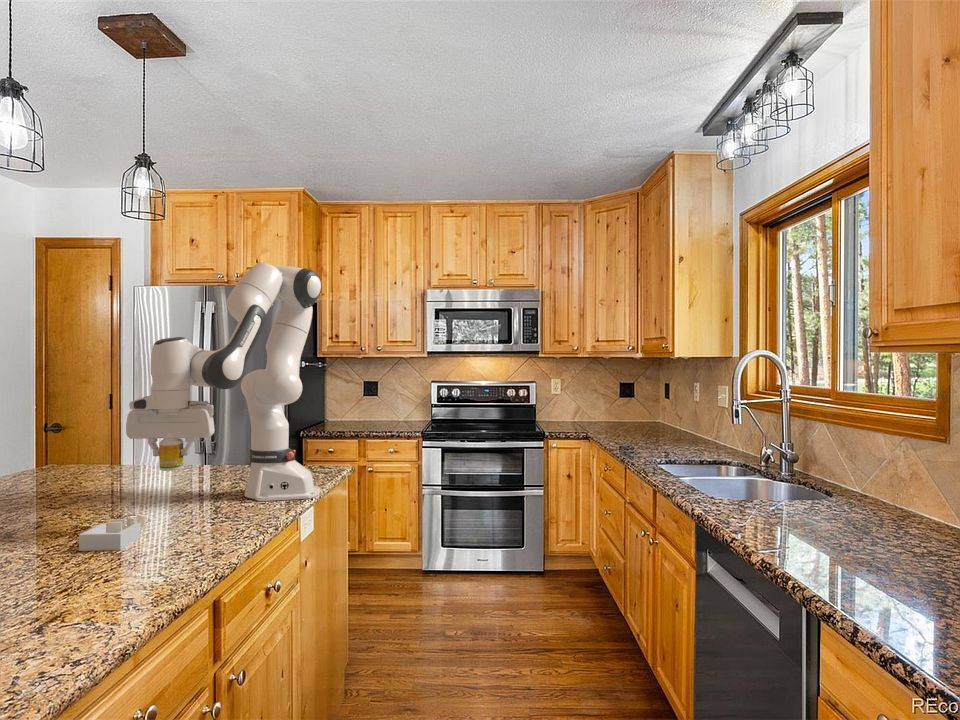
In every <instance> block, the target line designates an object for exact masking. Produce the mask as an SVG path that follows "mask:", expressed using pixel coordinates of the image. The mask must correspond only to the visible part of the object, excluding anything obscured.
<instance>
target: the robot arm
mask: <svg viewBox="0 0 960 720" xmlns="http://www.w3.org/2000/svg"><path fill="white" fill-rule="evenodd" d="M322 290H323V283H322V279H321V276H320V275H319V274H318V272H316V271H314V270H312V269H309V268H306V267H305V268H302V267H297V266H293V265H292V266H291V265H273V264H271V263H268V262H259V263H257V264H255V265H253V266H252V267H251V268H250V269H249V270H247V271H246V273H244V275H242V277H241V278H240V279H239V281H237V283H236V285H235V286H234V287H233V288H232V290H231V291H230V293H229V294H228V297H227V300H226V308H227V310H228V313H229V314H230V316H231V317H233V319H235V321H237V325H236V327H235V329H234V331H233V332H232V334H231V336H230V338H229V340H228V342H227V344H225V345H224V346H223V347H222V348H220V349H217V350H205V349H204V348H201V347H199V346H196V345H194V344H193V343H192V342H190V341H189V340H188V338H186V337H182V336H176V337H175V336H174V337H166V338H162V339H158V340H157V341H156V342H154V343H153V345H152V348H151V354H150V375H151V379H152V384H151V386H150V394H149V395H146V396H143V397H140V398H137V399H135V400H131V401H130V402H129V403H128V404H129V405H128V406H129V409H130V410H131V411H129V412H128V414H127V417H126V423H125V425H126V426H125V428H126V429H125V434H126V436H127V438H129V440H130V439H131V440H132V439H133V440H134V439H137V440H139V439H140V440H141V439H143V440H145V439H147V444H148V445H149V447H150V448H151V450H152V457H159V445H158V444H157V442H158V441H159V440H158V439H163V438H164V433H169V432H172V436H173V438H180V439H185V440H184V441H185V443H186V445H185V446H184V447H183V449H181V452H182V453H181V456H183V457H185V456H187V457H188V456H190V452H191V447H192V446H193V444H194V443H195V438H196V439H197V438H202V439H203V438H205V439H206V438H209V437H212V436H213V435H214V434H215V422H214V421H215V420H214V414H215V408H214V405H213V404H212V403H211V402H209V401H208V400H200V401H198V400H191V387H192V386H194V387H203V388H204V387H205V388H215V389H218V390H219V389H220V390H229V389H231V390H232V388H235V387H237V386H238V385H239V384H240V389H241V390H240V391H241V392H242V395H243V396H244V398H245V400H246V405H247V411H248V415H249V419H250V420H249V421H250V449H249V453H248V465H249V466H248V467H249V474H248V479H247V485H246V488H245V492H244V497H246V498H248V499H252V500H255V501H258V502H265V501H266V502H267V501H268V502H270V501H285V500H286V501H287V500H304V499H305V500H306V499H311V498H315V497H317V496H318V495H320V494H321V487H320V486H318V485H314V478H313V474H312V472H311V471H310V469H308V468H307V467H305V466H303V465H302V464H301V463H299V462H298V461H297V460H296V449H292V448H290V447H289V443H290V441H289V438H290V430H289V429H290V424H289V421H288V419H287V418H286V416H285V413H284V409H283V406H286V405H289V404H292V403H295V402H296V401H298V400H299V398H300V397H301V395H302V393H303V383H302V380H301V378H300V365H301V357H302V355H303V351H304V347H305V344H306V341H307V339H308V335H309V332H310V328H311V325H312V320H313V313H314V311H313V305H315V302H316V301H317V300H318V298H319V297H320V295H321V293H322ZM275 301H279V302H280V309H279V310H278V311H277V315H276V316H275V319H274V322H273V324H272V327H271V330H270V332H269V335H268V338H267V340H266V344H265V351H266V355H267V357H266V364H265V369H261V368H259V369H255V370H252V371H251V372H248V373H247V374H246V375H245V373H246V368H247V364H248V361H249V359H250V356H251V353H252V351H253V350H254V348H255V345H256V343H257V342H258V339H259V337H260V336H261V334H262V331H263V329H264V327H265V325H266V321H267V314H268V311H269V310H270V308H271V307H272V305H273V303H275Z"/></svg>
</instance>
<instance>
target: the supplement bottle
mask: <svg viewBox="0 0 960 720" xmlns="http://www.w3.org/2000/svg"><path fill="white" fill-rule="evenodd" d="M158 448H159V456H158V457H159V459H158V460H159V463H158V465H159V470H160V471H162V472H171V471H172V472H173V471H180V470H182V469H183V468H184V456H181V453H182V452H181V449H183V448H184V441H183V438H173V436H172V432H169V433H164V438H162V439H161V440H160V441H159V443H158Z"/></svg>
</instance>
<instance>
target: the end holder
mask: <svg viewBox="0 0 960 720" xmlns="http://www.w3.org/2000/svg"><path fill="white" fill-rule="evenodd" d="M140 538H141V530H140V523H135V524H133V525H131V526H129V527H128V528H127V527H125V529H124V530H122V531H120V532H119V533H107V522H106V523H100V524H98V525H96V526H93V527H91V528H89V529H87V530H85V531H84V532H81V533H79V535H78V551H79V552H85V551H86V552H87V551H88V552H89V551H91V552H92V551H93V552H95V551H122V550H124V549H125V548H127V547H128V546H129V545H131V544H133V543H134V542H136V541H137V540H139V539H140Z"/></svg>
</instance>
